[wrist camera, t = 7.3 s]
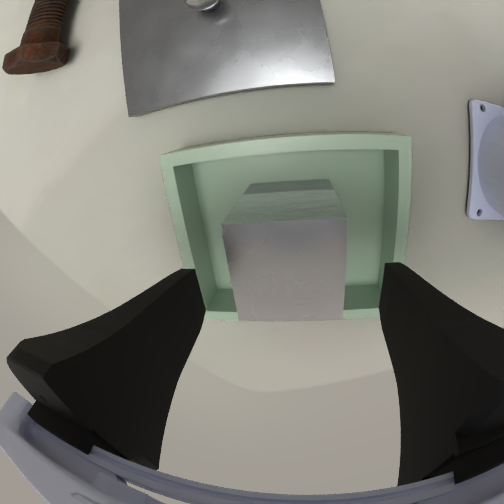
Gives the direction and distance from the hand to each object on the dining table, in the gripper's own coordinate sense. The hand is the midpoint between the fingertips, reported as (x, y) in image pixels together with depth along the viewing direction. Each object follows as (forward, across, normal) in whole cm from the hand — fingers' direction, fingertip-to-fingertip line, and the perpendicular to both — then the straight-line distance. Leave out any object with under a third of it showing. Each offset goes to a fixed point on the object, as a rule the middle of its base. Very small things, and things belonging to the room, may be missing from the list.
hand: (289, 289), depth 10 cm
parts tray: (+7, 0, 0) cm, 7 cm away
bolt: (+8, +15, -22) cm, 28 cm away
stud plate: (+7, +3, -14) cm, 16 cm away
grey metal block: (+7, 0, 0) cm, 7 cm away
